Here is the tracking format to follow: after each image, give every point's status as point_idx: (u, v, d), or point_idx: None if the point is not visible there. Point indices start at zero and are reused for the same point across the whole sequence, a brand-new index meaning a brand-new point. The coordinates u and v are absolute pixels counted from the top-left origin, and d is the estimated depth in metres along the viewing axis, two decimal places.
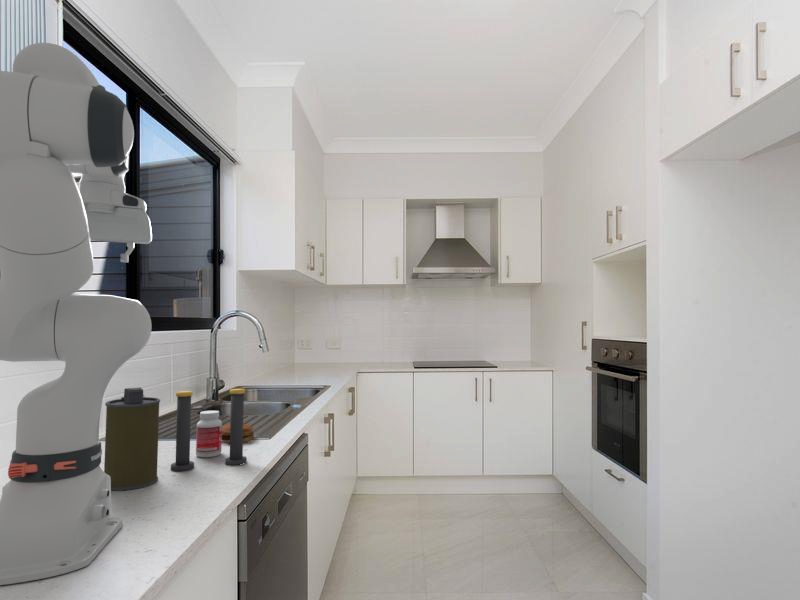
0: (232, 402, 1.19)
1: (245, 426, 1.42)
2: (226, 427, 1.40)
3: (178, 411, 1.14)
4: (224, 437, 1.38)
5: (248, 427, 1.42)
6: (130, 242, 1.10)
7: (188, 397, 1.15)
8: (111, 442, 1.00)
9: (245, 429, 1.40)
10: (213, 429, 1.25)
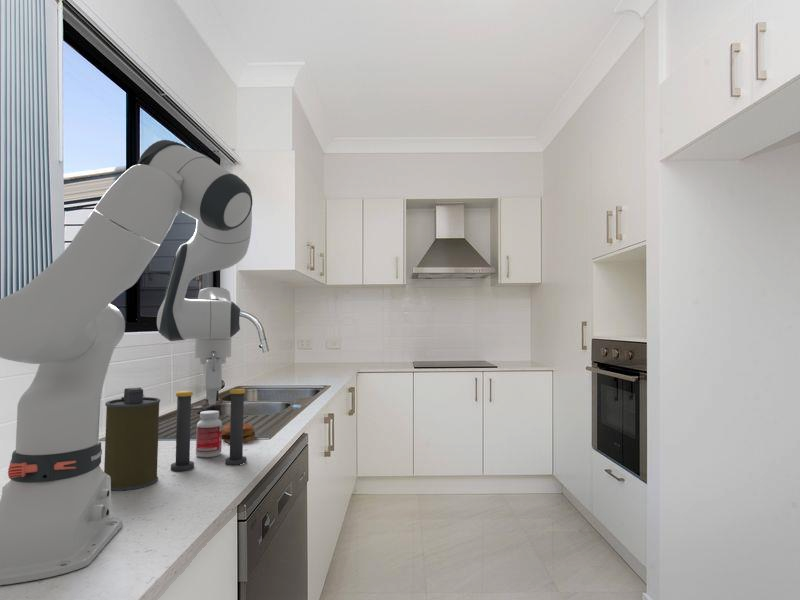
0: (232, 402, 1.19)
1: (246, 426, 1.42)
2: (227, 427, 1.41)
3: (178, 411, 1.14)
4: (225, 437, 1.39)
5: (249, 427, 1.42)
6: None
7: (188, 397, 1.15)
8: (111, 442, 1.00)
9: (246, 429, 1.40)
10: (213, 429, 1.25)
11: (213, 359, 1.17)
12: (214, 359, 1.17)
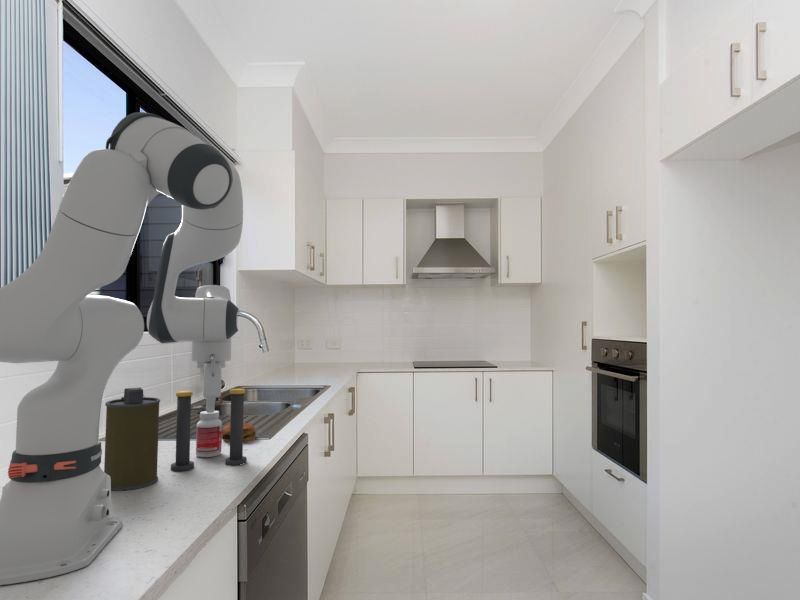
0: (232, 402, 1.19)
1: (247, 426, 1.43)
2: (228, 427, 1.41)
3: (178, 411, 1.14)
4: (226, 436, 1.39)
5: (250, 426, 1.42)
6: None
7: (188, 397, 1.15)
8: (111, 442, 1.00)
9: (247, 429, 1.40)
10: (213, 429, 1.25)
11: (212, 363, 1.07)
12: (213, 363, 1.07)
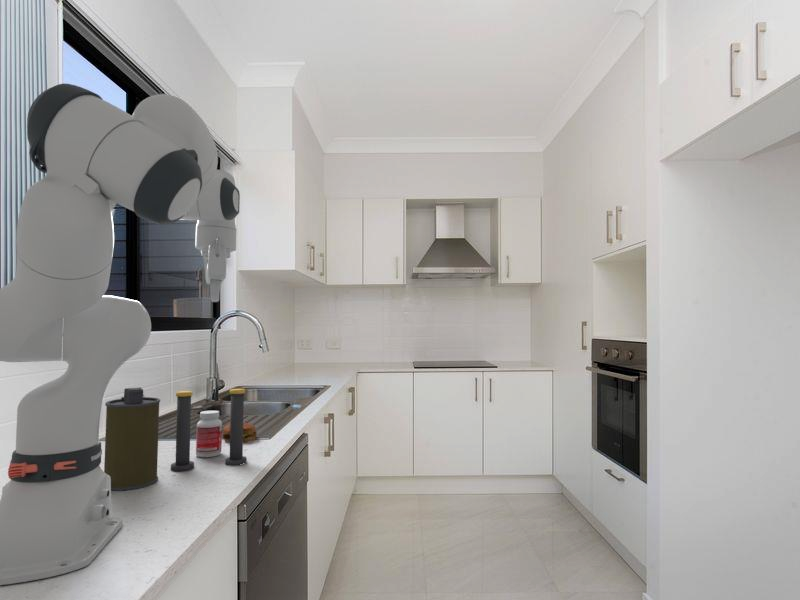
0: (232, 402, 1.19)
1: (248, 425, 1.43)
2: (229, 426, 1.41)
3: (178, 411, 1.14)
4: (227, 436, 1.39)
5: (251, 426, 1.42)
6: None
7: (188, 397, 1.15)
8: (111, 442, 1.00)
9: (247, 429, 1.41)
10: (213, 429, 1.25)
11: (217, 242, 1.04)
12: (218, 242, 1.04)
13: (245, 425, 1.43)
